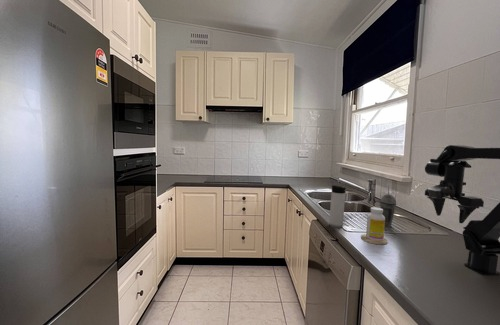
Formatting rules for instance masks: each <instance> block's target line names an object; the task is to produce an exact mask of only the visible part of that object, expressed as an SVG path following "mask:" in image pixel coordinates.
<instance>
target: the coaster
mask: <svg viewBox="0 0 500 325" xmlns="http://www.w3.org/2000/svg"><path fill="white" fill-rule="evenodd" d="M360 237H361V240H363V242H366V243H369V244H373V245H378V246H379V245H381V246H383V245H387V244H388V242H389V241H388V239H387V238H385V237H384V239H383V240H382V241H374V240H371V239H369V238H367V237H366V233H362V235H361V236H360Z"/></svg>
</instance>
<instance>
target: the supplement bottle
mask: <svg viewBox="0 0 500 325" xmlns="http://www.w3.org/2000/svg"><path fill="white" fill-rule="evenodd" d="M382 213H383V209H381V207H375V206H373V207H370V213H368V214H367V220H366V230H365V231H366V233H365V234H366V237H367V238H369V239H371V240H374V241H382V240H383V239H384V238H385V228H386V226H385V217H384V216H383V215H382Z"/></svg>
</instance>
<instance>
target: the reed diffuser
mask: <svg viewBox="0 0 500 325" xmlns="http://www.w3.org/2000/svg"><path fill="white" fill-rule="evenodd" d="M379 204H380V208H381V209H383V213H382V215H383V216H384V217H385V227H387V228H389V227H392V224H393V218H394V214H395V209H396V207H397V200H396V198H395V196H393V195H391V194H390V185H388V186H387V194H384V195H382V196H381V198H380V201H379Z"/></svg>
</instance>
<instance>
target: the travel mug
mask: <svg viewBox="0 0 500 325" xmlns="http://www.w3.org/2000/svg"><path fill="white" fill-rule="evenodd" d="M345 203H346V187H343V186H339V185H334V184H332V186H331V194H330V210H329V224H328V225H329V226H330V227H331V228H337V229H339V228H343V226H344V215H345V205H346V204H345Z"/></svg>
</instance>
